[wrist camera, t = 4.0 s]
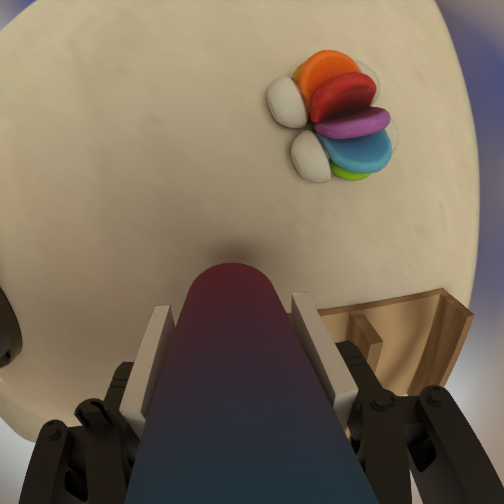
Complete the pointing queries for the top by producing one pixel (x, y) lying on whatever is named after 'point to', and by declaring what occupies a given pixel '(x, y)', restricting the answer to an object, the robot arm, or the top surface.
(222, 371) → the cup
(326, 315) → the rack
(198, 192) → the top surface
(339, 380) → the robot arm
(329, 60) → the rainbow disc stack
